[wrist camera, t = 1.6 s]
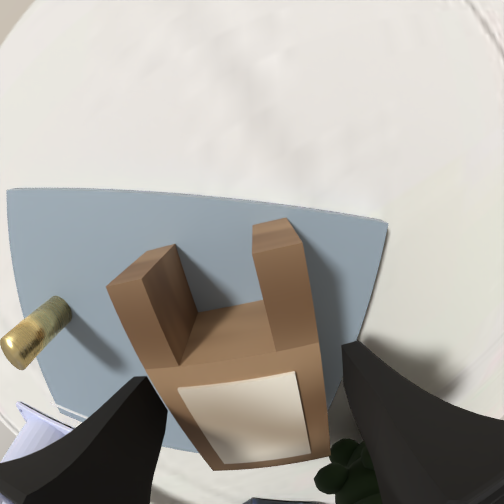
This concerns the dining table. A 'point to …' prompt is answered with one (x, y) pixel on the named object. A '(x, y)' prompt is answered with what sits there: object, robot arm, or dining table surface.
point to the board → (195, 268)
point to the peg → (35, 332)
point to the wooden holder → (233, 355)
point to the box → (272, 502)
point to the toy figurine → (349, 474)
